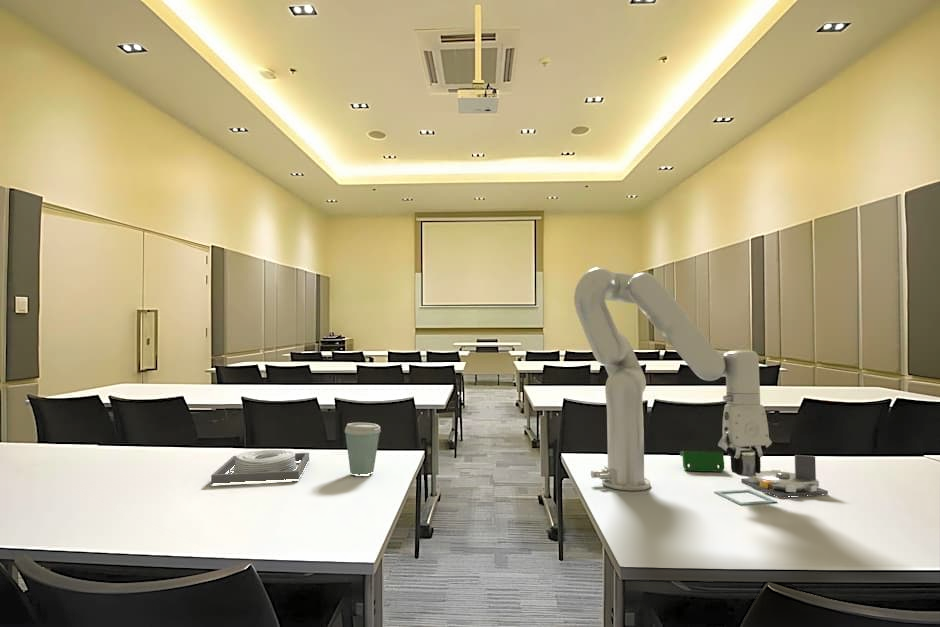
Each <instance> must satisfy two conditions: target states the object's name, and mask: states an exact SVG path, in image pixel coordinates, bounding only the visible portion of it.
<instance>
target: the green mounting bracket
mask: <svg viewBox="0 0 940 627" xmlns="http://www.w3.org/2000/svg"><path fill="white" fill-rule="evenodd" d="M679 457H682V466H683V468H684V470H686V471H689V472H690V471H694V472H695V471H696V472H723V471H724V469H725V458H724V452H723V451H697V450H695V451H694V450H691V451H690V450H682V451H679Z"/></svg>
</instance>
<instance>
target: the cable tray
mask: <svg viewBox="0 0 940 627" xmlns="http://www.w3.org/2000/svg"><path fill="white" fill-rule="evenodd" d="M294 453H295V461H299V460H301V462H300V463H298V465H297V466H296V467H297V469H296V470H294V471H273V472H253V473H232V474H225V473H226V472H227V471H228V470H230V469H231V468H232V467H233V466H234V465H235V458H236V456H237V455H233V456H231V457H230V458H229V459H228V460H227V461H226V462H225V463H224V464H223V465H221V466H220V467H219V468H218V469H217V470H216V471H214V472H213V473H212V474H211V475H210V485H211V484H213V483H230V482H245V481H266V480H284V479H285V480H286V479H299V477H300V475H301V474H302V472H303V470H304V468H305V466H306V464H307V462H308V461H309V462H310V452H294Z"/></svg>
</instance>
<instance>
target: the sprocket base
mask: <svg viewBox="0 0 940 627" xmlns="http://www.w3.org/2000/svg"><path fill="white" fill-rule="evenodd" d="M741 483H742V484H744V485H746V486H749V487H751V486H752V488H754V489H756V488H757V489H756V490H758V489H759V491H761V490H762V491H761V492H763V491H764V492H763V493H765V492H767V493H766V494H768V493H770V494H772V495H771V496H773V495H775V496H777V497H788V496H790V498H792V497H791V496H805V497H810V496H809V495H820V496H823V495H822V494H828V495H829V491H828V490H826V489H823V488H821V487H816V488H817V491H813V492H810V491H806V490H805V491H796V492H786V491H785V490H780V489H774V488H764V487H761V486H760V484H758V483H757V482H750V481H749V480H748V477H747V478H746V477H745V478H741ZM770 494H769V495H770ZM807 495H808V496H807ZM775 496H774V497H775ZM777 497H776V498H777Z"/></svg>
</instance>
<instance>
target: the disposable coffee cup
mask: <svg viewBox="0 0 940 627" xmlns="http://www.w3.org/2000/svg"><path fill="white" fill-rule="evenodd" d="M344 433H345V441H346V448H347V455H348V456H347V457H348V463H349V464H348V465H349V472H350V474H351V473H352V474H358V475H360V474H368V473H371V472H373V473H374V469H375V463H376V460H377V459H376V458H377V453H378V446H379V445H378V444H379V438H380V433H381V426H380V425H379V424H377V423H370V422H351V423H347V424H346V426H345V429H344Z"/></svg>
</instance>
